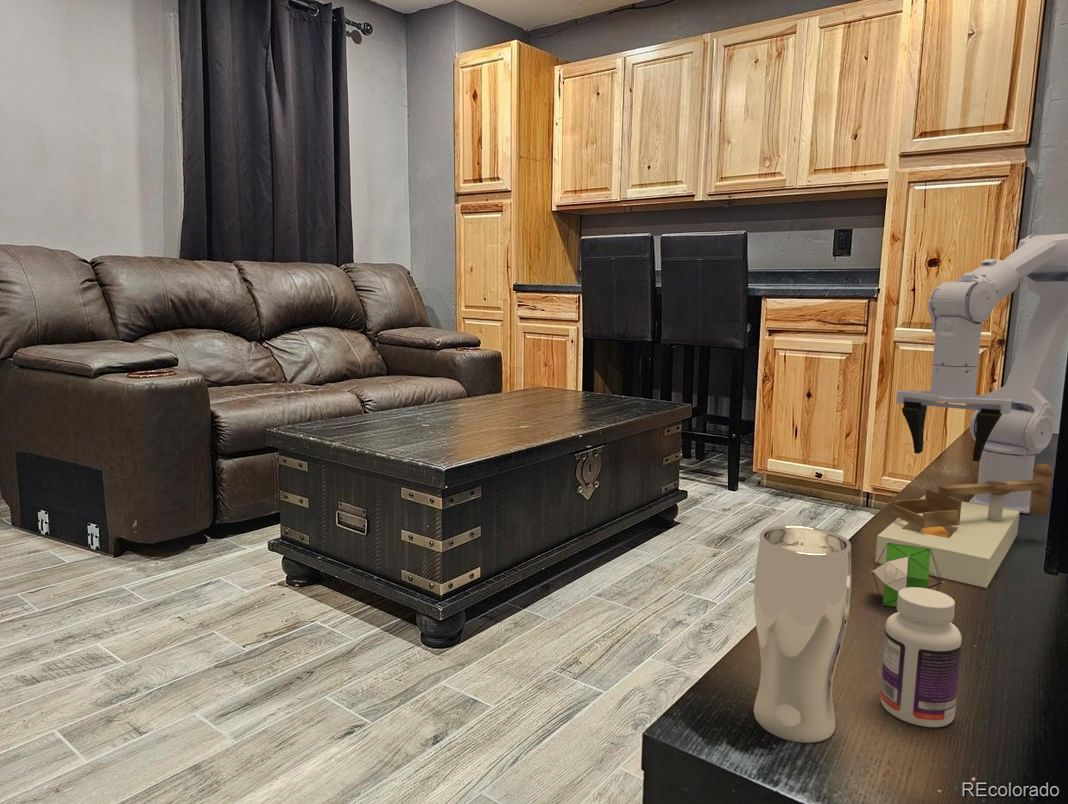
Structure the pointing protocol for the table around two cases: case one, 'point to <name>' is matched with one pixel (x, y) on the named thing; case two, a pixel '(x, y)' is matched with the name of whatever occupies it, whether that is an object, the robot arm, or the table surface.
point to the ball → (936, 531)
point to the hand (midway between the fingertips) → (946, 456)
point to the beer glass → (800, 628)
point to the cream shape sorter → (961, 542)
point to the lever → (947, 509)
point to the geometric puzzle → (904, 570)
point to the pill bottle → (921, 659)
